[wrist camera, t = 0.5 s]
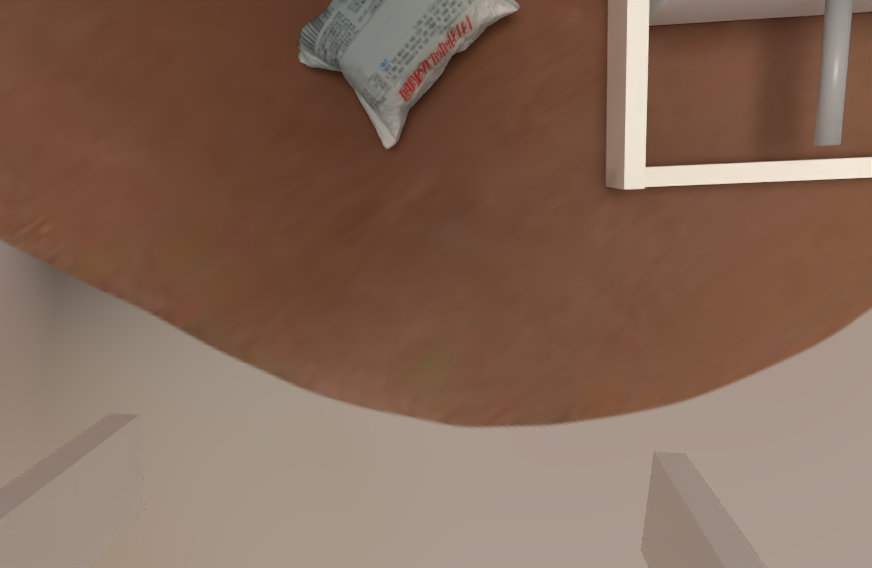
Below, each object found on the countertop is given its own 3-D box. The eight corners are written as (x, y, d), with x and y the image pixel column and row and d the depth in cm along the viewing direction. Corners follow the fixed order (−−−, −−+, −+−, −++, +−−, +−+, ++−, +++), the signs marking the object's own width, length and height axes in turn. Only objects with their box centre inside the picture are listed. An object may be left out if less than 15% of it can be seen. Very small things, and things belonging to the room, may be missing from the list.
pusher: (637, 9, 37) (688, -40, 28) (918, -9, 36) (1064, -67, 27) (634, 155, 39) (681, 151, 30) (902, 142, 37) (1034, 135, 28)
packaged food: (516, 18, 38) (521, -5, 33) (391, 151, 40) (379, 148, 35) (421, -82, 37) (412, -120, 32) (299, 59, 39) (274, 43, 35)
